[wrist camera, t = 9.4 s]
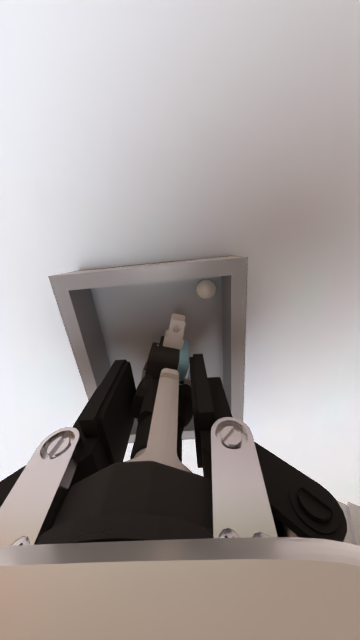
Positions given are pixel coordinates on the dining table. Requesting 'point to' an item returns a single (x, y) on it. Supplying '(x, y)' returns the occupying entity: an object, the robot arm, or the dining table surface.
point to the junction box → (158, 319)
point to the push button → (145, 466)
